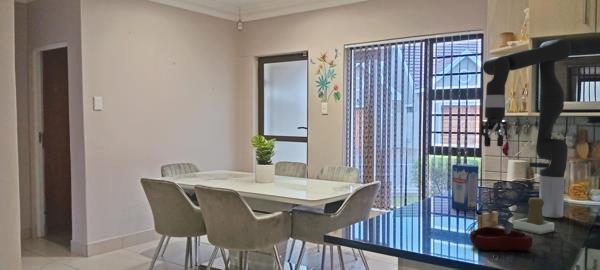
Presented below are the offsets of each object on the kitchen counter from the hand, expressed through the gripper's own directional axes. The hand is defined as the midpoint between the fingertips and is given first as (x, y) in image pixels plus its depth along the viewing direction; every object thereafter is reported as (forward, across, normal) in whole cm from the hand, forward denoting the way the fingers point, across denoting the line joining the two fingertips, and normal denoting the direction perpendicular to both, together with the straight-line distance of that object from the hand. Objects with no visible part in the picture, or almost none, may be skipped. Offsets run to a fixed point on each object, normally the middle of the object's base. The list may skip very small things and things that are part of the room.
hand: (493, 146), depth 192 cm
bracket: (+30, -15, -10) cm, 35 cm away
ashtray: (+31, -36, -26) cm, 54 cm away
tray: (+30, -2, -19) cm, 36 cm away
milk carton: (+30, +10, +21) cm, 38 cm away
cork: (+29, -1, -19) cm, 35 cm away
